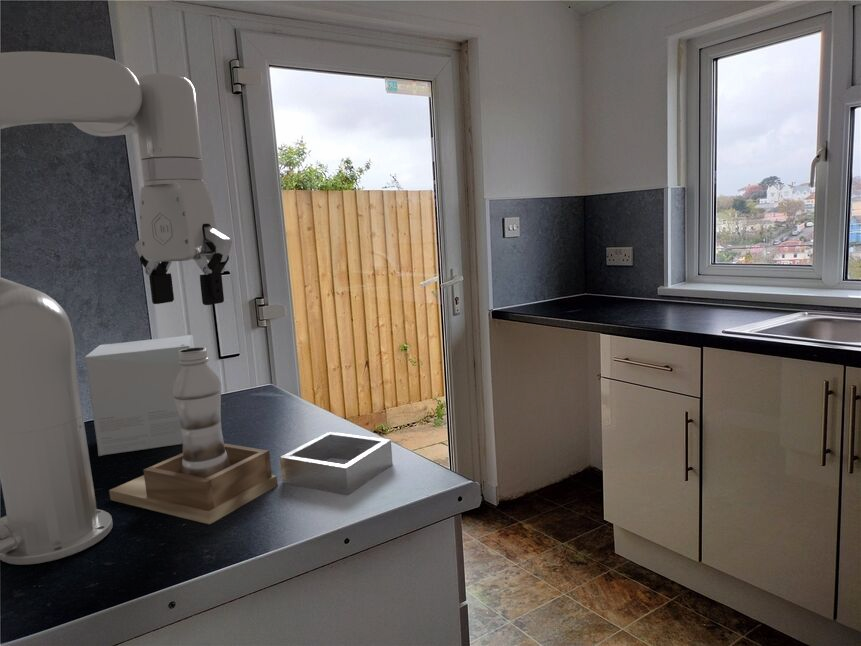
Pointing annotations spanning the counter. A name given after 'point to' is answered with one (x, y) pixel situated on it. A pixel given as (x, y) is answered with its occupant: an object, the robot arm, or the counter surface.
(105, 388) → the supplement box
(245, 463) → the wooden tray
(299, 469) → the holder
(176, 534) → the counter surface
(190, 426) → the plastic bottle
